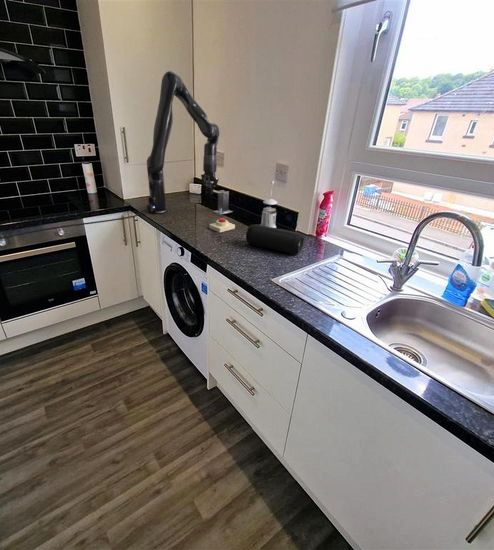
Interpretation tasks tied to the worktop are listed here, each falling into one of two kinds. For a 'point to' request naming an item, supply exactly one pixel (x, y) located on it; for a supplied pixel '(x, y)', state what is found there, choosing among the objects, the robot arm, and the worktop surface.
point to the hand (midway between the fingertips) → (209, 193)
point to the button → (222, 220)
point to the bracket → (223, 203)
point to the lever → (214, 191)
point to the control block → (221, 226)
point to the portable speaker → (275, 238)
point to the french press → (269, 213)
